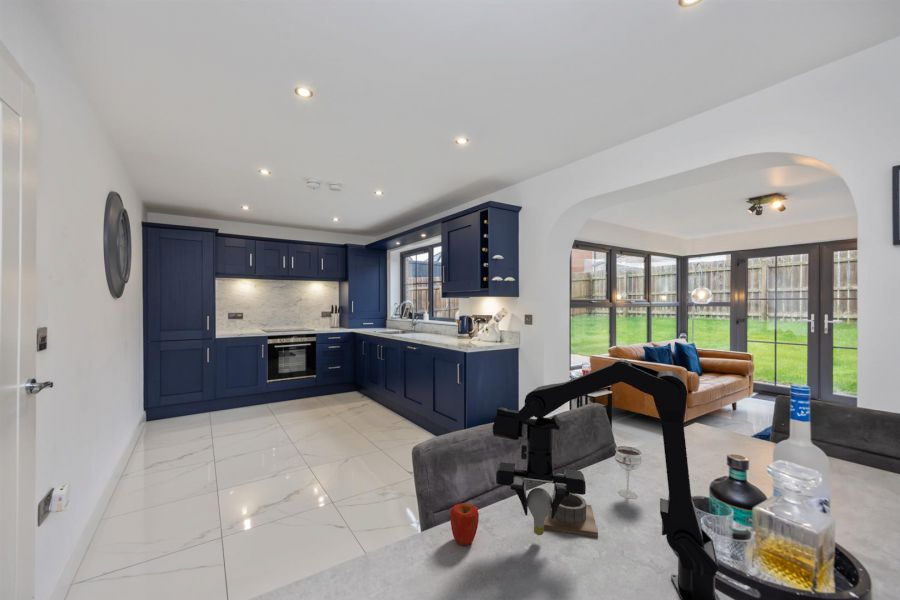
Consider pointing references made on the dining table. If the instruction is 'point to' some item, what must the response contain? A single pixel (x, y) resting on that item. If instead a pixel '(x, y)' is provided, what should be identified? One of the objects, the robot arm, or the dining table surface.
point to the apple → (464, 523)
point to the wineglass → (628, 465)
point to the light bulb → (539, 507)
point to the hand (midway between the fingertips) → (539, 516)
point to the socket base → (573, 517)
